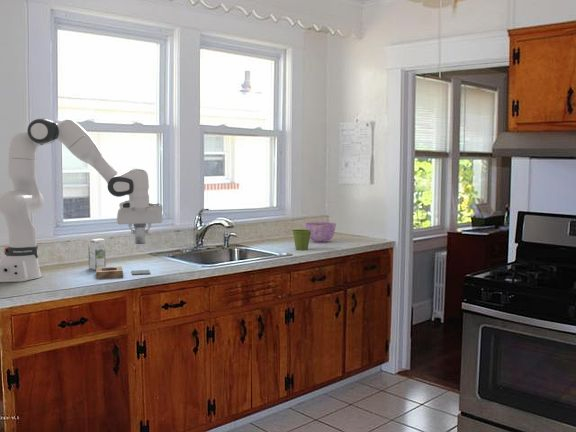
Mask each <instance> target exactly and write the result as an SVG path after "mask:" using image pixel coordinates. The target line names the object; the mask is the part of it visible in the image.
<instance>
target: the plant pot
mask: <svg viewBox="0 0 576 432" xmlns="http://www.w3.org/2000/svg"><path fill="white" fill-rule="evenodd" d="M291 232H292V234H293V239H294V246H295V247H294V248H295V250H299V251H306V250H308V249H309V246H310V245H309V244H310V240H311V239H310V235H311V232H312V230H307V229H305V228H304V229H303V228H302V229H300V228H299V229H292V230H291Z"/></svg>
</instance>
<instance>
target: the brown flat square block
mask: <svg viewBox="0 0 576 432" xmlns="http://www.w3.org/2000/svg"><path fill="white" fill-rule="evenodd" d="M95 273H96V274H95V276H96V280H99V279H100V280H101V279H118V278H120V279H121V278H123V277H124V271H123V267H122V266H108V267H107V266H106V267H101V268H96V270H95Z"/></svg>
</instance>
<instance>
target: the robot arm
mask: <svg viewBox="0 0 576 432" xmlns="http://www.w3.org/2000/svg"><path fill="white" fill-rule="evenodd" d="M10 139H11V140H10V143H9V148H8V150H9V151H8V162H7V163H8V166H7V167H8V168H7V171H8V173H7V176H8V177H9V179H11V182H12V184H13V188H14V189H13V190H9V191H7V192H4V193H3V194H0V213H1V215H2V216H3V217H4V220H5V223H6V225H7V231H8V245H9V246H5V247H4V251H3V252H4V256H2V257H1V258H0V283H8V282H9V283H10V282H12V283H14V282H15V283H16V282H26V281H30V280H36V279H40V278H41V277H42V272H41V270H40V264H39V246H38V245H37V244H38V243H37V228H36V226H35V225H34V224H33V222H32V220H31V216H30V215H31V214H35V213H36V212H38V211H40V210H41V209H42V208H43V207H44V205H45V199H44V196H43V194H42V193H41V191H40V189H39V185H38V180H37V150H38V148H39V146H44V145H48V144H49V145H50V144H53V142H55V141H58V142H60V143H62V144H63V145H64V146H65V147H66V149H67V150H69V152H70V153H71V154H72V155H73V156H75V157H76V158H77V159H78V160H80V161H82V162H83V163H85V164H88V165H89V166H91V167H93V168H94V169H95V171H96V172H97V173H98V174H99V175H100V176H101V177H102V178H103V179H104V181H105V182H106V185H107V191H108V193H109V194H111V196H114V197H116V198H120V197H125V196H128V197H129V198H128V200H125V201H122V202H120V203H119V205H118V206H119V209H118V210H117V215H116V223H117V224H118V225H128V228H129V229H130V232H131V235H135V230H134V229H133V228H132V227H133V225H134V224H146V225H147V228H146V234H150V229H151V227H152V224H161V223H162V222H163V215H162V212H163V205H162V204H160V203H159V202H158V203H156V202H155V203H153V202H151V203H150V196H149V189H150V185H149V175H148V173H147V171H146V170H145V169H142V168H138V167H136V168H135V167H130V168H129V169H128V170H127V171H124V172H122V173H120V172H119V173H118V171H116V169H114V168H113V167H112V165H111V164H110V163H109V162H108V161H107V160H106V158H105V157H104V156H103V154H102V153H101V151H100V149H99V147H98V145H97V144H96V141H94V139H93V138H92V136H91V135H90V134H89V133H88V132H87V131H86V130H85V129H84V128H83V127H82V126H81V125H80V124H79V123H78V122H76V120H74V119H71V118H66V119H63V120H61V121H60V122H58V123H56V122H54V121H53V120H50V119H48V118H35V119H34V120H32V121H31V122H30V123H29V124H28V126H27V131H26V132H18V133H15V134H13V135H12V137H11V138H10Z"/></svg>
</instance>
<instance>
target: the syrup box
mask: <svg viewBox="0 0 576 432" xmlns="http://www.w3.org/2000/svg"><path fill="white" fill-rule="evenodd" d="M106 265H107V264H106V239H104V238H102V237H101V238H99V237H97V238H91V239H88V270H95V271H96V268H101V267H107V266H106Z"/></svg>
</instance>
